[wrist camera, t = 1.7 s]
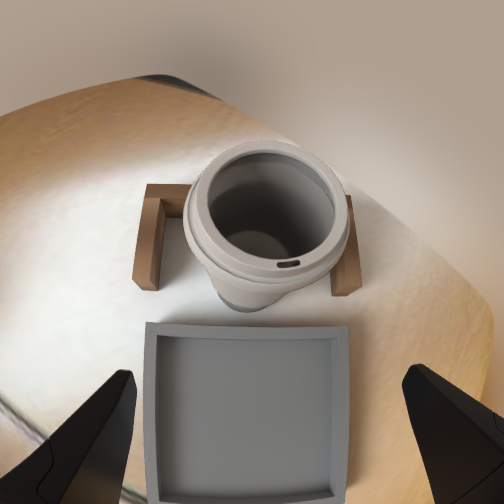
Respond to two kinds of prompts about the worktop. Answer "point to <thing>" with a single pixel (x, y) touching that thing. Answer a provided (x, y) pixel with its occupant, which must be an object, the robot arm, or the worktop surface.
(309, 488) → the tray
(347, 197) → the cubby
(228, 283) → the cup
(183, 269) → the worktop surface
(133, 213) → the worktop surface
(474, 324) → the worktop surface
